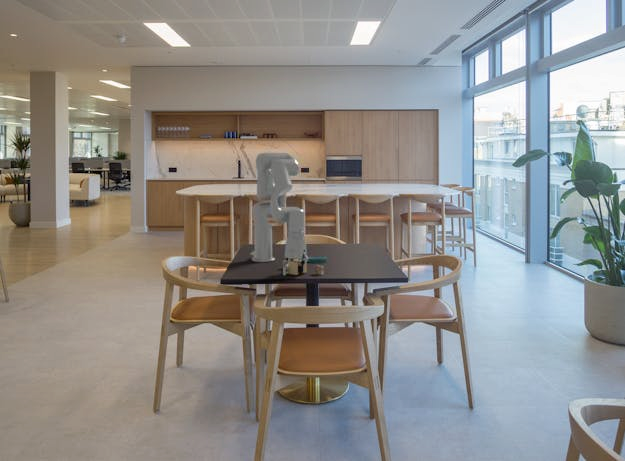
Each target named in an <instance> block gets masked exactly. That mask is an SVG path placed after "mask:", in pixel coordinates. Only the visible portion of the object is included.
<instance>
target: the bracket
mask: <svg viewBox="0 0 625 461" xmlns="http://www.w3.org/2000/svg"><path fill="white" fill-rule="evenodd" d="M306 255H307V256H308V249H306ZM308 258H309V260H308V261H307V262H310V263H309V264H311V263H312V264H326V263H328V257H325V256H308ZM294 260H295V259H294Z"/></svg>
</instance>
